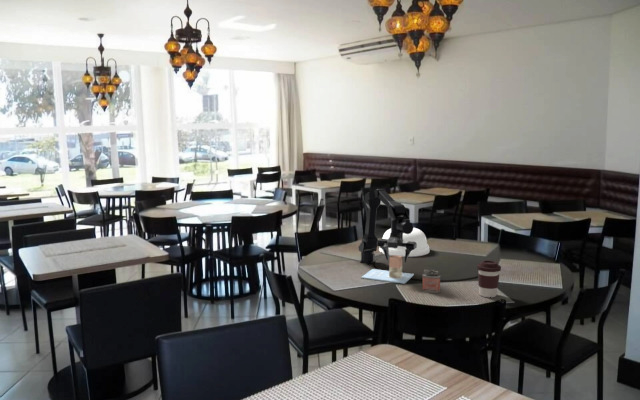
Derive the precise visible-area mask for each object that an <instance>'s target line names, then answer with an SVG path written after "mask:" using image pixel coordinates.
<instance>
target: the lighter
mask: <svg viewBox="0 0 640 400" xmlns="http://www.w3.org/2000/svg"><path fill="white" fill-rule="evenodd" d="M421 275H422V288H421V291H422V292H423V293H432V294H434V293H435V294H440V293H441V277H442V276H441V275H440V274H439V271H438V270H434V269H431V270H430V269H424V270H423V273H422V274H421Z"/></svg>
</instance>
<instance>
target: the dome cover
mask: <svg viewBox="0 0 640 400" xmlns="http://www.w3.org/2000/svg"><path fill="white" fill-rule="evenodd" d="M390 233H391V228H389V229H387V230H386V231H385V232H384V233H383V236H382V238H381V239H389V237H390ZM409 241H411V242H416V243H417V248H415V249H414V250H412V251H411V252H410V254H409V256H408V258H409V257H410V258H411V257H421V256H425V255H428V254H429V253H430V250H431V249H430V245H429V244H428V240H427V236H426V234H425V233H424V232H423V231H422V230H421V229H419V228H416V227H413V231H412V232H411V233H410V234H405V233H403V243H407V242H409ZM378 247H379V248H378V251H379V252H380V253H381V252H382V254H383V255H385V253H384V251H383V249H382V248H380V246H378ZM406 249H407V248H406V247H402V246H398V247H397V248H389V256H392V255H398V256H402V258H403V257H404V258H405V250H406Z"/></svg>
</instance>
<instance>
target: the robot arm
mask: <svg viewBox="0 0 640 400" xmlns="http://www.w3.org/2000/svg"><path fill="white" fill-rule="evenodd" d="M364 203H365V205H366V207H367V211H366V212H367V214H366V224H365V225H366V226H365V233H364V234H363V236H362V237H361V242H360V244H359V245H358V251H359V252H361V253H360V257H361V259H360V261H359V263H362V264H368V265H369V264H370V265H371V264H373V263H374V262H375V261H376V260H375V259H376V258H375V257H376V256H375V254H376V253H375V252H377V250H378V247H379V246H380V248H382V249H383V251H384V253H385V254H384V256H385V259H386V261H389V257H390V255H389V248H397V247H398V246H402V247H406V248H407V249H406V250H405V257H404V263H407V261H408V259H409V257H408V256H409V254H410V252H411V251H412V250H414V249H415V248H417V243H416V242H411V241H409V242H407V243H403V233H405V234H410V233H411V232H412V231H413V228H414V224H413V223H412V222H411V220H410V218H409V214H408V211H407V208H406V207H405V205H404V204H402V202H398V201H397V200H395V199H394V198H393V197H392V196H391V195H390V194H389V193H388V192H387V191H386V189H385V188H377V189H375V190H372V191H370V192H366V193H365V195H364ZM381 203H383V204H384V206H385V207H386V208H387V212H388V214H389V216H390V217H389V220H390V224H391V225H390V229H391V233H390V237H389V239H382V238H380V239H378V238H377V236H376V224H377V223H376V222H377V209H378V208H379V207H380V205H381Z"/></svg>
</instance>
